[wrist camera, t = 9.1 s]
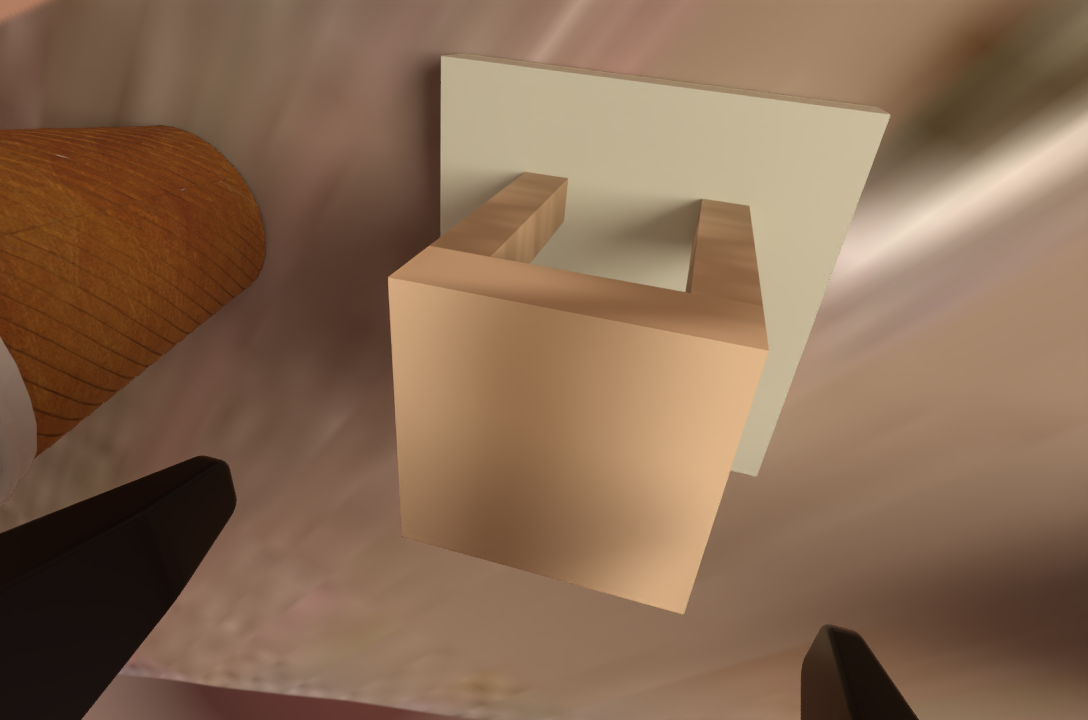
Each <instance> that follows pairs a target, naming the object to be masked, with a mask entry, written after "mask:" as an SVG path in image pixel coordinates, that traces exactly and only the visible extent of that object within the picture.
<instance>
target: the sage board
mask: <svg viewBox="0 0 1088 720" xmlns="http://www.w3.org/2000/svg"><path fill="white" fill-rule="evenodd" d="M889 117H890V114H888V113H887V112H885V111H883V110H881V109H880V108H878V107H875V106H867V105H860V104H852V103H844V102H836V101H829V100H821V99H813V98H805V97H798V96H790V95H782V94H774V93H767V92H759V91H751V90H744V89H736V88H728V87H720V86H713V85H705V84H697V83H689V82H682V81H674V80H666V79H658V78H651V77H643V76H635V75H627V74H620V73H612V72H604V71H596V70H589V69H581V68H573V67H566V66H558V65H550V64H542V63H535V62H527V61H519V60H511V59H504V58H496V57H488V56H480V55H473V54H465V53H460V54H452V55H444V56H441V185H440V237H441V236H442V235H444V234H445V233H446V232H448V231H449V230H450V229H452V228H453V227H454V226H456V225H457V224H458V223H460V222H461V221H462V220H463V219H465V218H466V217H467V216H469V215H470V214H471V213H473V212H474V211H475V210H477V209H478V208H479V207H481V206H482V205H483V204H484V203H486V202H487V201H488V200H490V199H491V198H492V197H494V196H495V195H496V194H498V193H499V192H500V191H501V190H503V189H504V188H505V187H507V186H508V185H509V184H511V183H512V182H513V181H515V180H516V179H517V178H519V177H520V176H521V175H522V174H524V173H525V172H531V173H537V174H544V175H550V176H557V177H564V178H568V186H567V196H566V205H565V215H564V222H563V223H562V224H561V225H560V227H559V228H558V229H557V230H556V232H555V233H554V234H553V235H552V237H551V238H550V239H549V240H548V242H547V243H546V244H545V245H544V247H543V248H542V249H541V250H540V252H539V253H538V254H537V255H536V257H535V258H534V259H533V260H532V262H531V263H530V264H533V265H538V266H544V267H549V268H555V269H560V270H566V271H571V272H577V273H583V274H588V275H594V276H599V277H605V278H610V279H616V280H621V281H627V282H632V283H638V284H644V285H649V286H655V287H660V288H666V289H671V290H677V291H682V292H685V291H686V284H687V277H688V270H689V263H690V256H691V249H692V243H693V238H694V234H695V229H696V225H697V220H698V216H699V211H700V207H701V202H702V199H708V200H715V201H721V202H728V203H735V204H741V205H748V206H750V214H751V221H752V229H753V236H754V243H755V251H756V258H757V266H758V273H759V280H760V288H761V295H762V302H763V310H764V317H765V325H766V332H767V339H768V347H769V352H768V356H767V359H766V362H765V365H764V368H763V371H762V374H761V377H760V380H759V383H758V386H757V390H756V393H755V396H754V399H753V402H752V405H751V408H750V411H749V414H748V417H747V421H746V424H745V427H744V430H743V433H742V436H741V439H740V442H739V445H738V448H737V451H736V455H735V458H734V461H733V464H732V467H731V471H735V472H739V473H743V474H748V475H752V476H756V477H757V474H758V471H759V469H760V466H761V463H762V461H763V458H764V455H765V452H766V450H767V447H768V444H769V442H770V439H771V436H772V434H773V431H774V428H775V425H776V423H777V420H778V417H779V415H780V412H781V409H782V407H783V404H784V401H785V398H786V396H787V393H788V390H789V388H790V385H791V382H792V379H793V377H794V374H795V371H796V369H797V366H798V363H799V361H800V358H801V355H802V352H803V350H804V347H805V344H806V342H807V339H808V336H809V334H810V331H811V328H812V325H813V323H814V320H815V317H816V315H817V312H818V309H819V307H820V304H821V301H822V298H823V296H824V293H825V290H826V288H827V285H828V282H829V280H830V277H831V274H832V271H833V269H834V266H835V263H836V261H837V258H838V255H839V253H840V250H841V247H842V244H843V242H844V239H845V236H846V234H847V231H848V228H849V226H850V223H851V220H852V217H853V215H854V212H855V209H856V207H857V204H858V201H859V198H860V196H861V193H862V190H863V188H864V185H865V182H866V180H867V177H868V174H869V171H870V169H871V166H872V163H873V161H874V158H875V155H876V153H877V150H878V147H879V144H880V142H881V139H882V136H883V134H884V131H885V128H886V126H887V123H888V120H889Z"/></svg>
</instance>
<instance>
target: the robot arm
mask: <svg viewBox="0 0 1088 720" xmlns="http://www.w3.org/2000/svg"><path fill="white" fill-rule="evenodd" d="M236 500H237V499H236V493H235V489H234V485H233V481H232V477H231V472H230V468H229V466H228V464H227V463H226V462H225V461H223V460H219V459H216V458H212V457H208V456H197V457H194V458H191V459H189V460H186V461H184V462H181V463H179V464H176V465H173V466H171V467H168V468H166V469H163V470H161V471H158V472H156V473H153V474H150V475H148V476H145V477H143V478H140V479H138V480H135V481H133V482H130V483H127V484H125V485H122V486H120V487H117V488H115V489H112V490H110V491H107V492H104V493H102V494H99V495H97V496H94V497H92V498H89V499H87V500H84V501H81V502H79V503H76V504H74V505H71V506H69V507H66V508H64V509H61V510H58V511H56V512H53V513H51V514H48V515H46V516H43V517H40V518H38V519H35V520H33V521H30V522H28V523H25V524H23V525H20V526H17V527H15V528H12V529H10V530H7V531H5V532H2V533H0V720H82V718H83V717H84V716H85V714H86V713H87V712H88V711H89V709H90V708H91V707H92V706H93V704H94V703H95V702H96V701H97V699H98V698H99V697H100V696H101V694H102V693H103V692H104V690H105V689H106V688H107V687H108V685H109V684H110V683H111V682H112V680H113V679H114V678H115V677H116V675H117V674H118V673H119V672H120V670H121V669H122V668H123V667H124V665H125V664H126V663H127V661H128V660H129V659H130V658H131V656H132V655H133V654H134V653H135V651H136V650H137V649H138V648H139V646H140V645H141V644H142V643H143V641H144V640H145V639H146V638H147V636H148V635H149V634H150V632H151V631H152V630H153V629H154V627H155V626H156V625H157V624H158V622H159V621H160V620H161V619H162V617H163V616H164V615H165V614H166V612H167V611H168V610H169V608H170V607H171V606H172V604H173V603H174V602H175V600H176V599H177V598H178V596H179V595H180V593H181V592H182V590H183V589H184V587H185V586H186V585H187V583H188V582H189V580H190V578H191V577H192V575H193V574H194V572H195V571H196V569H197V568H198V566H199V565H200V563H201V562H202V560H203V559H204V557H205V555H206V554H207V552H208V551H209V549H210V548H211V546H212V545H213V543H214V542H215V540H216V539H217V537H218V536H219V534H220V533H221V531H222V529H223V528H224V526H225V525H226V523H227V522H228V520H229V519H230V517H231V516H232V514H233V512H234V509H235V506H236ZM801 720H919V719H918V718H917V716H916V715H915V714H914V712H913V711H912V709H911V708H910V706H909V705H908V703H907V702H906V700H905V699H904V698H903V696H902V695H901V693H900V692H899V690H898V689H897V687H896V686H895V684H894V683H893V681H892V680H891V679H890V677H889V676H888V674H887V673H886V671H885V670H884V668H883V667H882V665H881V664H880V663H879V661H878V660H877V658H876V657H875V655H874V654H873V652H872V651H871V649H870V648H869V647H868V645H867V644H866V642H865V641H864V639H863V638H862V637H861V636H860V635H859V634H858V633H857V632H855V631H853V630H849V629H846V628H842V627H838V626H834V625H831V624H826V625H824V626H822V628H821V629H820V630H819V632H818V634H817V636H816V638H815V640H814V642H813V643H812V645H811V647H810V649H809V651H808V653H807V655H806V656H805V659H804V661H803V664H802V670H801Z"/></svg>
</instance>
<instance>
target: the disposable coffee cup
mask: <svg viewBox="0 0 1088 720" xmlns="http://www.w3.org/2000/svg"><path fill="white" fill-rule="evenodd" d="M264 258H265V232H264V227H263V222H262V217H261V214H260V211H259V208H258V205H257V203H256V201H255V199H254V197H253V195H252V193H251V191H250V189H249V188H248V186H247V185H246V183H245V181H244V180H243V178H242V177H241V175H240V174H239V173H238V171H237V170H236V169H235V168H234V167H233V166H232V165H231V164H230V163H229V162H228V161H227V159H226V158H225V157H224V156H223V155H222V154H221V153H220V152H218V151H217V150H216V149H215V148H214V147H212V146H211V145H210V144H209V143H207V142H205V141H204V140H202V139H200V138H199V137H197V136H195V135H194V134H192V133H189V132H186V131H183V130H180V129H177V128H174V127H169V126H162V125H159V126H139V127H99V128H59V129H53V128H41V129H15V130H0V506H1V505H3V504H4V503H5V502H6V501H8V500H9V498H10V496H11V495H12V493H13V491H14V490H15V488H16V486H17V483H18V480H19V479H21V478H22V477H23V476H25V475H26V474H27V473H28V472H29V469H30V467H31V464H32V462H33V459H34V458H36V457H37V456H38V455H39V454H41V453H42V452H43V451H44V450H45V449H47V448H49V447H51V446H52V445H53V444H54V443H55V442H56V441H58V440H59V439H60V438H61V437H62V436H63V435H65V434H66V433H67V432H68V431H70V430H72V429H73V428H74V427H75V426H76V425H77V424H78V423H79V422H81V421H82V420H83V419H84V418H85V417H86V416H89V415H90V414H91V413H92V412H94V411H95V410H96V409H97V408H98V407H99V406H100V405H101V404H102V403H103V402H106V401H108V400H109V399H110V398H111V397H112V396H113V395H114V394H115V393H117V392H118V391H119V390H120V389H123V388H124V387H125V386H126V385H127V384H128V383H129V382H130V381H131V380H133V379H134V378H135V376H139V375H140V374H141V373H142V372H143V371H144V370H145V369H146V368H147V367H148V366H149V365H152V364H153V363H154V362H155V361H157V360H158V359H159V358H160V357H161V356H162V355H163V354H166V353H167V352H168V351H169V350H170V349H171V348H172V347H174V346H175V345H176V344H177V343H178V342H181V341H182V340H183V339H184V338H185V337H186V336H187V335H188V334H189V333H192V332H193V331H194V330H195V329H196V328H197V327H198V326H199V325H201V323H204V322H205V321H206V320H207V319H208V318H210V317H211V316H212V315H213V314H215V313H216V312H217V311H218V310H220V309H221V308H222V307H223V305H226V304H227V303H228V302H230V301H231V300H232V299H233V298H234V297H236V296H237V295H238V294H240V293H241V292H242V291H243V290H245V289H246V288H248V287H249V286H250V285H251V284H252V283H253V282H254V281H255V280H256V279H257V277H258V275H259V273H260V271H261V269H262V267H263V262H264Z"/></svg>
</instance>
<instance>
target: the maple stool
mask: <svg viewBox="0 0 1088 720" xmlns="http://www.w3.org/2000/svg"><path fill="white" fill-rule="evenodd" d="M567 186H568V178H564V177H557V176H550V175H544V174H537V173H531V172H525V173H524V174H522V175H521V176H520V177H519V178H517V179H516V180H515V181H513V182H512V183H511V184H509V185H508V186H507V187H505V188H504V189H503V190H501V191H500V192H499V193H498V194H496V195H495V196H494V197H492V198H491V199H490V200H488V201H487V202H486V203H484V204H483V205H482V206H481V207H479V208H478V209H477V210H475V211H474V212H473V213H471V214H470V215H469V216H467V217H466V218H465V219H463V220H462V221H461V222H460V223H458V224H457V225H456V226H454V227H453V228H452V229H450V230H449V231H448V232H446V233H445V234H444V235H442V236H441V237H440V238H439V239H437V240H436V241H435V242H433V243H432V244H431V245H429V246H428V247H427V248H425V249H424V250H423V251H422V252H420V253H419V254H418V255H416V256H415V257H414V258H412V259H411V260H410V261H408V262H407V263H406V264H404V265H403V266H402V267H401V268H399V269H398V270H397V271H395V272H394V273H393V274H391V275H390V276H389V277H388V289H389V307H390V326H391V344H392V363H393V381H394V399H395V418H396V436H397V455H398V473H399V492H400V510H401V528H402V537H405V538H408V539H412V540H416V541H419V542H423V543H427V544H430V545H434V546H437V547H441V548H445V549H448V550H452V551H455V552H459V553H463V554H466V555H470V556H474V557H477V558H481V559H484V560H488V561H492V562H495V563H499V564H503V565H506V566H510V567H513V568H517V569H521V570H524V571H528V572H532V573H535V574H539V575H542V576H546V577H550V578H553V579H557V580H561V581H564V582H568V583H571V584H575V585H579V586H582V587H586V588H589V589H593V590H597V591H600V592H604V593H608V594H611V595H615V596H618V597H622V598H626V599H629V600H633V601H637V602H640V603H644V604H647V605H651V606H655V607H658V608H662V609H666V610H669V611H673V612H676V613H680V614H684V612H685V609H686V606H687V603H688V600H689V597H690V594H691V591H692V587H693V584H694V581H695V578H696V575H697V572H698V569H699V566H700V563H701V560H702V557H703V553H704V550H705V547H706V544H707V541H708V538H709V535H710V532H711V529H712V526H713V523H714V519H715V516H716V513H717V510H718V507H719V504H720V501H721V498H722V495H723V492H724V489H725V485H726V482H727V479H728V476H729V473H730V470H731V467H732V464H733V461H734V458H735V455H736V451H737V448H738V445H739V442H740V439H741V436H742V433H743V430H744V427H745V424H746V421H747V417H748V414H749V411H750V408H751V405H752V402H753V399H754V396H755V393H756V390H757V386H758V383H759V380H760V377H761V374H762V371H763V368H764V365H765V362H766V359H767V356H768V352H769V347H768V339H767V332H766V325H765V317H764V310H763V302H762V295H761V288H760V280H759V273H758V266H757V258H756V251H755V243H754V236H753V229H752V221H751V214H750V206H748V205H741V204H735V203H728V202H721V201H715V200H708V199H702V202H701V207H700V211H699V216H698V220H697V225H696V229H695V234H694V238H693V243H692V249H691V256H690V263H689V270H688V277H687V284H686V291H685V292H682V291H677V290H671V289H666V288H660V287H655V286H649V285H644V284H638V283H632V282H627V281H621V280H616V279H610V278H605V277H599V276H594V275H588V274H583V273H577V272H571V271H566V270H560V269H555V268H549V267H544V266H538V265H533V264H530V263H531V262H532V260H533V259H534V258H535V257H536V255H537V254H538V253H539V252H540V250H541V249H542V248H543V247H544V245H545V244H546V243H547V242H548V240H549V239H550V238H551V237H552V235H553V234H554V233H555V232H556V230H557V229H558V228H559V227H560V225H561V224H562V223H563V222H564V215H565V205H566V196H567Z"/></svg>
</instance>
